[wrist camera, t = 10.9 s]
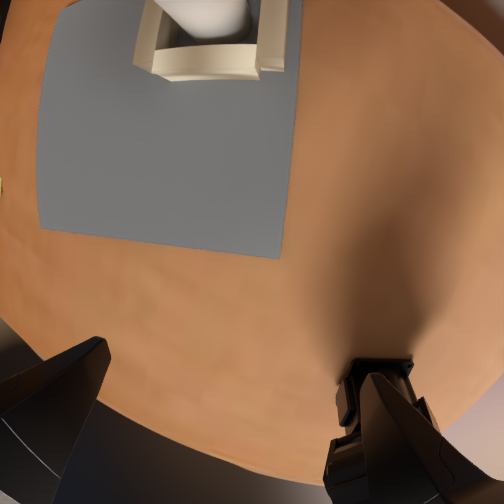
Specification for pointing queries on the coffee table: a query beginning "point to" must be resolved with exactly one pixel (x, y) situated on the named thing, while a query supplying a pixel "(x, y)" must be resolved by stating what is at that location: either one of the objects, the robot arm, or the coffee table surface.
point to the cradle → (211, 48)
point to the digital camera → (3, 14)
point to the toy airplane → (0, 186)
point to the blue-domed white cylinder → (211, 19)
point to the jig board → (162, 140)
